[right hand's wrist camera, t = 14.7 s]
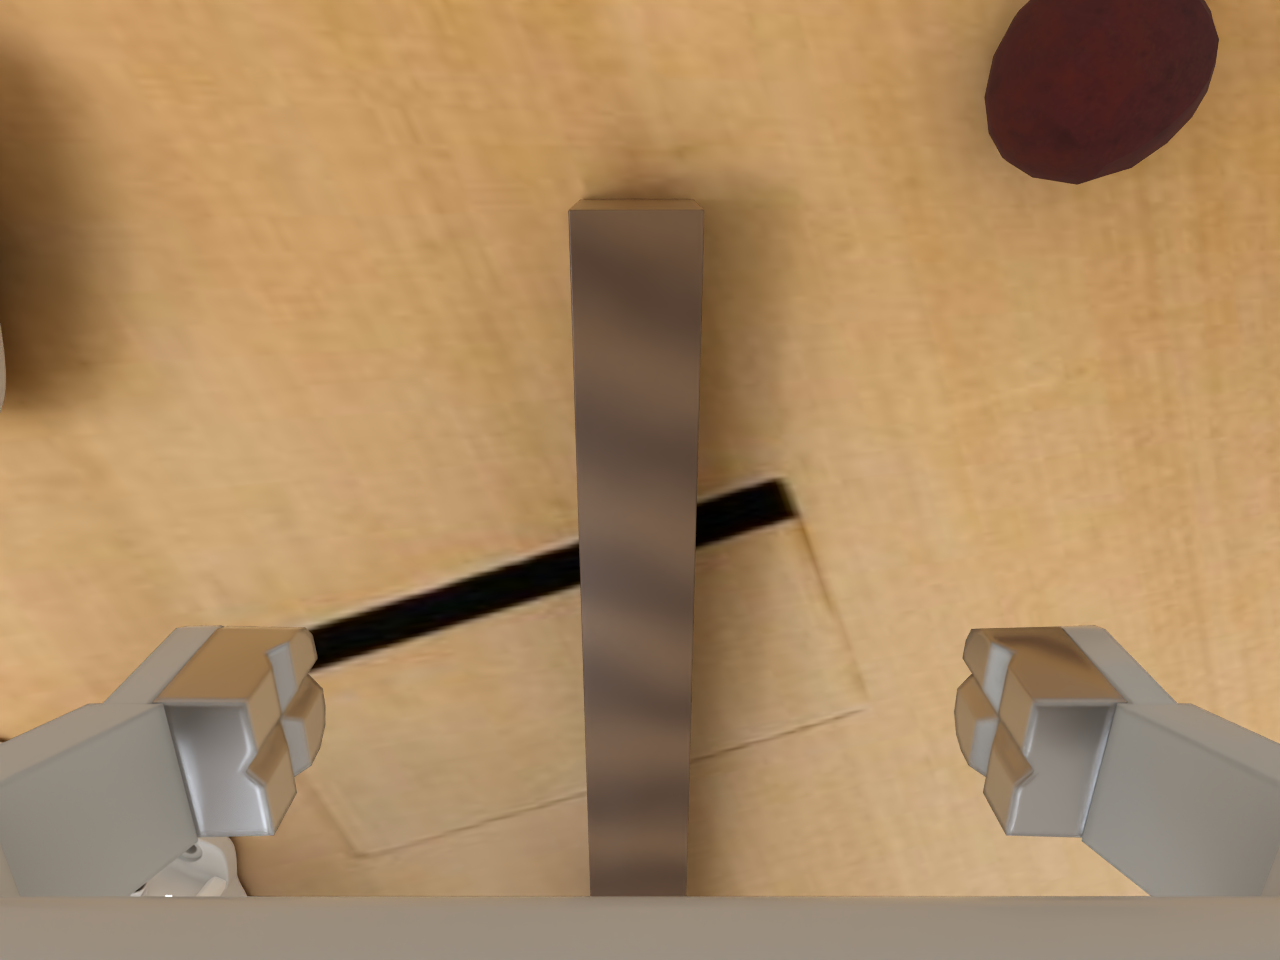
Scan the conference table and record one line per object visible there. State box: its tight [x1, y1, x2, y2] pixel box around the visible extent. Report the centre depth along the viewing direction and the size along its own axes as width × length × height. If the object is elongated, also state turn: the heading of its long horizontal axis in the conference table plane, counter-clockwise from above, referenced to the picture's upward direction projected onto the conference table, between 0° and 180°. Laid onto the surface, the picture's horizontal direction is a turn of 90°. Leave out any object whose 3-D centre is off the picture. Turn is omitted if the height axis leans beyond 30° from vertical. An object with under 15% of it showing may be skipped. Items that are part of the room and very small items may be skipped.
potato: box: [985, 0, 1219, 184], centre depth 31 cm, size 7×8×7 cm
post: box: [568, 199, 704, 896], centre depth 49 cm, size 80×5×6 cm, turn 0°
